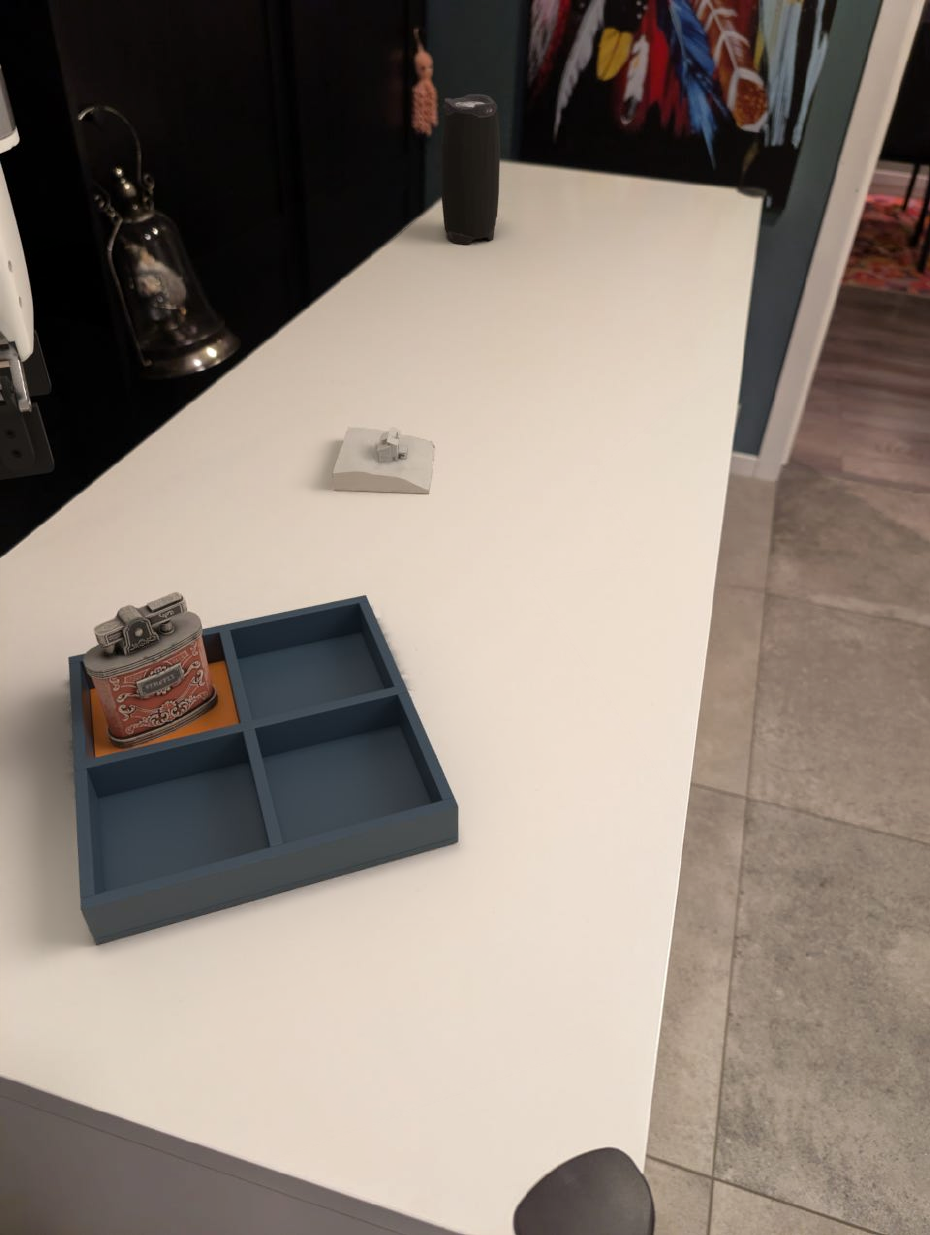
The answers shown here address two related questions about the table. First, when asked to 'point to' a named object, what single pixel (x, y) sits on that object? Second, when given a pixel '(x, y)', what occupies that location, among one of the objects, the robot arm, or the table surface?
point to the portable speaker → (470, 168)
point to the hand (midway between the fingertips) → (25, 431)
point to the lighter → (150, 671)
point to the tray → (257, 776)
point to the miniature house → (383, 462)
